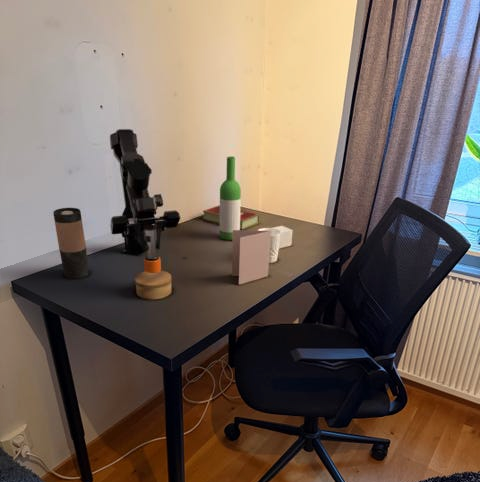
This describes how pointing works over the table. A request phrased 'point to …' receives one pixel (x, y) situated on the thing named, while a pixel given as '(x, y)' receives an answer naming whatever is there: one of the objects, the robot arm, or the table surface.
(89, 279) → the table surface
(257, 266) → the greeting card
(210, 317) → the table surface
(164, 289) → the birch box
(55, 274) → the table surface
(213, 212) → the hardcover book
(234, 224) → the wine bottle
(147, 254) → the torch
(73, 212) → the travel mug
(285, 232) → the cream cube
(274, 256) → the white cup
